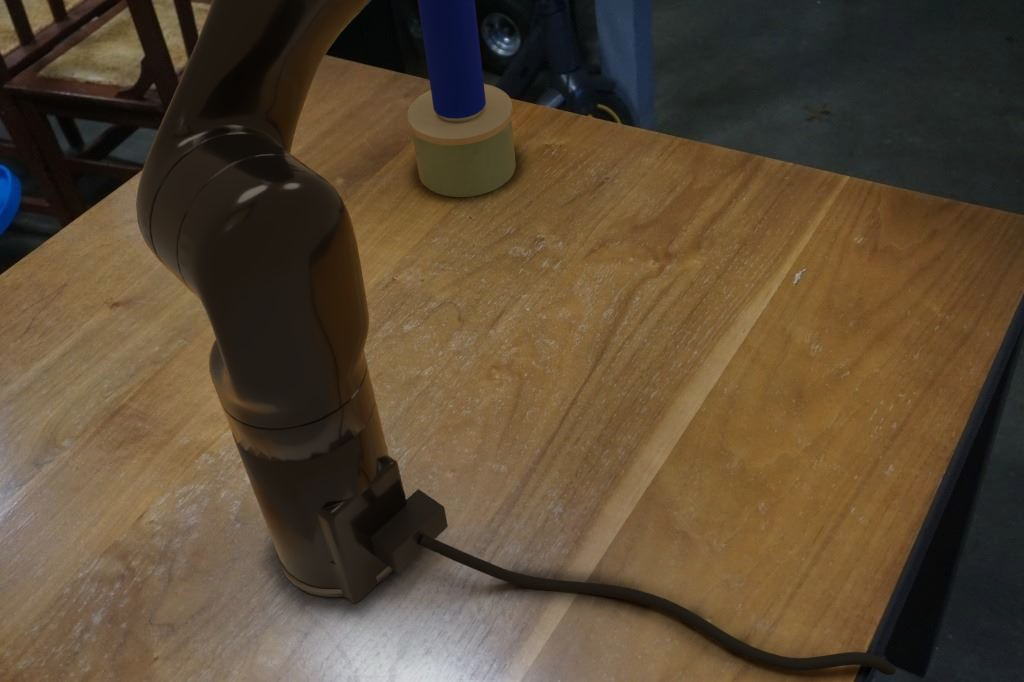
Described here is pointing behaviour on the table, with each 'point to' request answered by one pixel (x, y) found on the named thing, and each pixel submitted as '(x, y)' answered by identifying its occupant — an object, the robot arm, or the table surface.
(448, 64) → the beverage can
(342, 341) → the robot arm
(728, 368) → the table surface
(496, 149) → the cookie tin
